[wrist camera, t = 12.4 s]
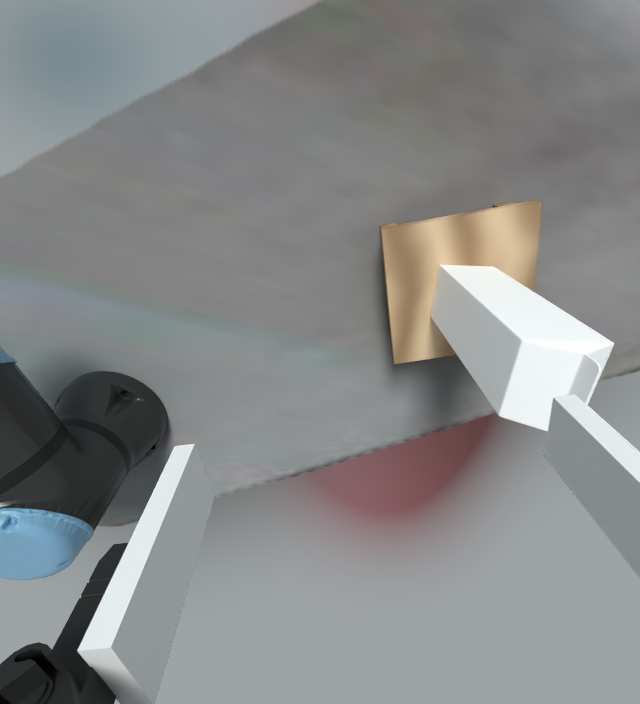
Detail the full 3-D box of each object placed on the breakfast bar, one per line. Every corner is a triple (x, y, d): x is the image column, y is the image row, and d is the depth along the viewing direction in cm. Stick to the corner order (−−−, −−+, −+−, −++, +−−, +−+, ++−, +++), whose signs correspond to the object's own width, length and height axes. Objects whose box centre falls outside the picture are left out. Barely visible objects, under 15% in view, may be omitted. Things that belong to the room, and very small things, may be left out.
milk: (429, 315, 43) (516, 448, 24) (439, 262, 41) (546, 364, 21) (482, 317, 44) (612, 451, 24) (495, 265, 41) (655, 368, 21)
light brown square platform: (386, 342, 52) (394, 364, 46) (374, 221, 44) (381, 230, 39) (507, 324, 50) (529, 343, 45) (514, 195, 43) (542, 201, 38)
